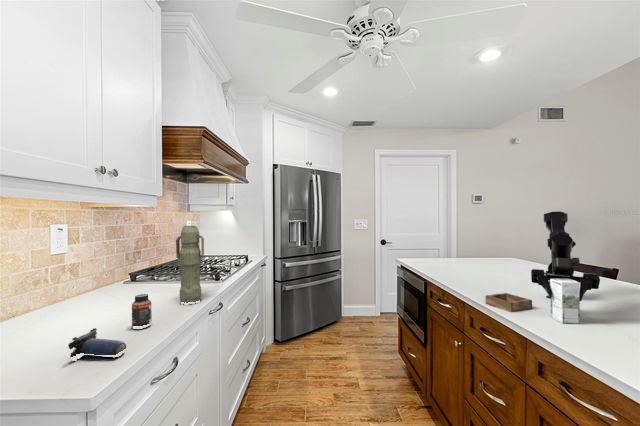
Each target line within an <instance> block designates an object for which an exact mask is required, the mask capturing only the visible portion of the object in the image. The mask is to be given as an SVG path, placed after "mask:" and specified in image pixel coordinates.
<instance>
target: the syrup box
mask: <svg viewBox="0 0 640 426" xmlns="http://www.w3.org/2000/svg"><path fill="white" fill-rule="evenodd" d="M550 289H551V298H550V317H551V319H553V320H555V321H556V322H559V323H561V324H571V325H572V324H573V325H574V324H575V325H576V324H577V325H578V324H581V315H580V314H581V313H580V311H581V306H580V302H581V301H580V283H579V282H577V281H574V280H571V279H550Z"/></svg>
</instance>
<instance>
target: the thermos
mask: <svg viewBox="0 0 640 426" xmlns="http://www.w3.org/2000/svg"><path fill="white" fill-rule="evenodd" d="M200 239H201V240H200ZM200 243H201V246H200V245H199V244H200ZM180 244H181V246H180ZM204 245H205V239H204V237H203V235H200V231H199V228H198V226H196V225H184V226H182V228H181V230H180V235H179V236H177V237H176V238H175V248H176V249H175V251H176V252H175V253H176V255H175V257H176V259H178V261H179V266H180V287H179V301H181V302H184V303H185V302H186V303H188V302H196V301H199V300H200V299H202V286H201V266H200V265H201V262H202V259H204V257H205V256H204V255H205V253H204V252H205V248H204V247H205V246H204ZM200 247H201V249H200Z"/></svg>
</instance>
